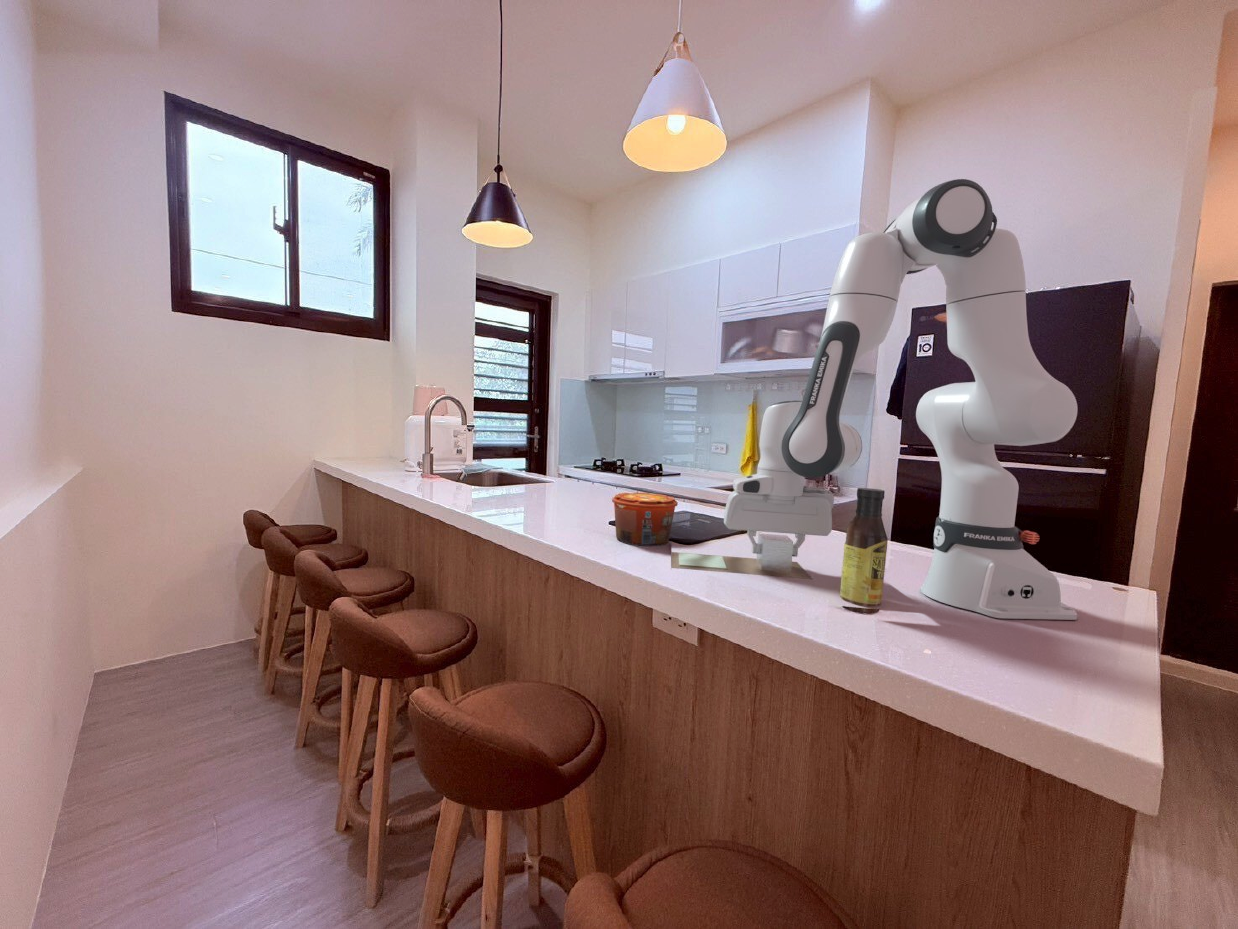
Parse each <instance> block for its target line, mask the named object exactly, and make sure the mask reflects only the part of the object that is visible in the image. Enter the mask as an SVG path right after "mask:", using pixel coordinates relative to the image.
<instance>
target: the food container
mask: <svg viewBox="0 0 1238 929" xmlns="http://www.w3.org/2000/svg"><path fill="white" fill-rule="evenodd" d="M611 501H612V502H611V503H613V506H614V522H615V523H614V524H615V537H616V539H617V540H618V541H620V542H621V543H624V544H628V545H632V546H638V547H639V546H641V547H654V546H655V547H657V546H662V545H663V546H664V545H666V544H667V543H669V540H670V534H671V530H672V524H673V519H674V515H675V510H676V507H678V505H679V504H678V501H676V499H675V498H674V496H670V497H669V496H668V495H667V494H666V495H665V494H658V493H655V494H653V493H650V492H649V493H648V492H634V493H633V492H632V493H629V492H621V493H620V492H619V493H618V494H615V495H614V497H612V499H611Z"/></svg>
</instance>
